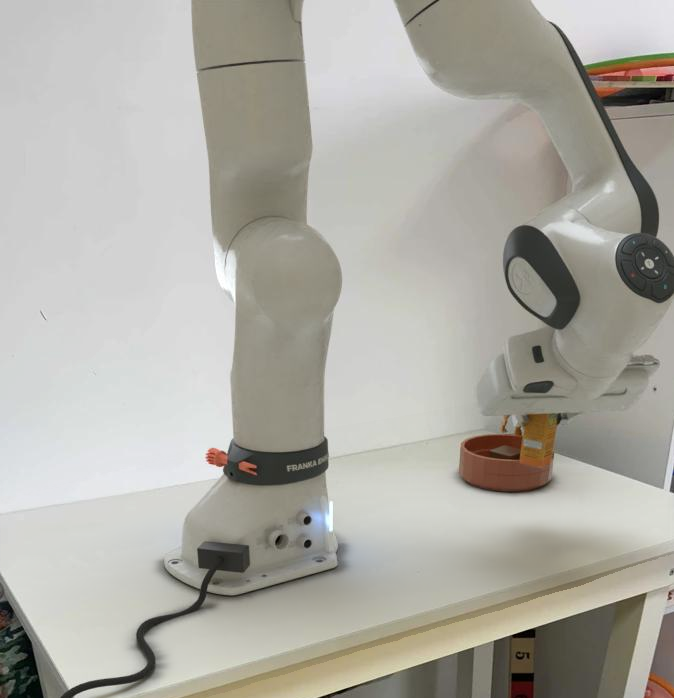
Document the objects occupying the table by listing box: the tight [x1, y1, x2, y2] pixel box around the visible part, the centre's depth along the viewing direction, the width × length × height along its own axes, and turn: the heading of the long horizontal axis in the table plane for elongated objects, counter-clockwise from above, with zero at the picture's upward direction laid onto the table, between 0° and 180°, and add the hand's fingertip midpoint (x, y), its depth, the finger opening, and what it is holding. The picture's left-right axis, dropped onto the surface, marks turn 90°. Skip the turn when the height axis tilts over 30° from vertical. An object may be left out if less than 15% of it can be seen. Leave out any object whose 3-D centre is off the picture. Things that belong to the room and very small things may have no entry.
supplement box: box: [520, 413, 559, 468], centre depth 111 cm, size 3×3×10 cm
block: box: [489, 445, 521, 460], centre depth 135 cm, size 4×4×4 cm
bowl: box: [458, 433, 555, 492], centre depth 136 cm, size 14×14×5 cm
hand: (538, 421), depth 112 cm, fingers closed on supplement box, 4 cm apart
